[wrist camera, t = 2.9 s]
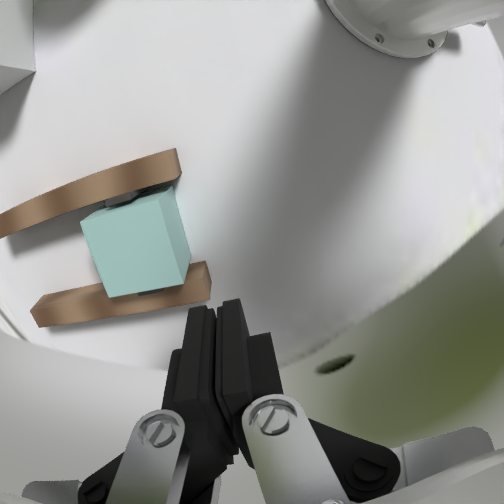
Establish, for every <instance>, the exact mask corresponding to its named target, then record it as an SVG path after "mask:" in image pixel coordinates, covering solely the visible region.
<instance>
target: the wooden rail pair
mask: <svg viewBox="0 0 504 504" xmlns="http://www.w3.org/2000/svg"><path fill="white" fill-rule="evenodd" d="M181 173H182V172H181V168H180V164H179V159H178V155H177V151H176V148H174V149H170V150H167V151H163V152H160V153H156V154H153V155H149V156H146V157H143V158H140V159H136V160H133V161H130V162H127V163H124V164H121V165H118V166H115V167H112V168H109V169H106V170H103V171H100V172H98V173H95V174H92V175H89V176H87V177H84V178H81V179H79V180H76V181H74V182H71V183H69V184H66V185H64V186H61V187H59V188H56V189H54V190H51V191H49V192H47V193H44V194H42V195H40V196H37V197H35V198H33V199H31V200H29V201H26V202H24V203H22V204H20V205H18V206H16V207H14V208H12V209H10V210H8V211H6V212H4V213H2V214H0V239H1V238H3V237H5V236H8V235H10V234H12V233H15V232H17V231H20V230H22V229H25V228H27V227H30V226H32V225H35V224H37V223H40V222H42V221H45V220H48V219H50V218H53V217H56V216H58V215H61V214H64V213H67V212H69V211H72V210H75V209H78V208H81V207H84V206H87V205H90V204H93V203H96V202H99V201H102V200H105V199H107V200H106V201H105V205H106V207H107V206H111V205H114V204H117V203H121V202H124V201H127V200H131V199H133V198H134V197H135V196H137V195H138V194H139V193H140V192H142V191H143V190H144V189H146V188H147V187H148V186H152V185H155V184H159V183H163V182H166V181H170V180H174V179H176V178H177V177H178V176H179V175H180V174H181ZM108 198H109V199H108ZM210 291H211V278H210V275H209V271H208V268H207V264H206V261H202V262H198V263H193V264H189V266H188V269H187V273H186V277H185V280H184V284H180V285H175V286H169V287H164V288H159V289H154V290H148V291H143V292H137V293H132V294H127V295H121V296H116V297H110V298H109V296H108V294H107V292H106V289H105V287H104V285H103V283H99V284H94V285H89V286H85V287H80V288H75V289H71V290H66V291H61V292H57V293H52V294H47V295H43V296H42V297H41V299H40V300H39V301H38V302H37V303H36V304H35V305H34V307H33V308H32V309H31V310H30V312H31V314H32V316H33V318H34V319H35V321H36V323H37V325H38V327H39V328H41V327H48V326H56V325H63V324H70V323H77V322H84V321H91V320H97V319H104V318H110V317H116V316H123V315H129V314H135V313H141V312H147V311H152V310H158V309H164V308H169V307H175V306H180V305H186V304H191V303H196V302H202V301H207V300H210Z"/></svg>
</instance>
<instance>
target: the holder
mask: <svg viewBox="0 0 504 504" xmlns="http://www.w3.org/2000/svg"><path fill="white" fill-rule="evenodd" d="M34 72H36V67H35V56H34V40H33V0H0V95H1V94H2V93H4V92H5V91H7V90H8V89H9V88H11V87H12V86H14V85H15V84H17V83H18V82H20V81H21V80H23V79H24V78H26V77H27V76H29V75H31V74H32V73H34Z"/></svg>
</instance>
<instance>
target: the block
mask: <svg viewBox="0 0 504 504" xmlns="http://www.w3.org/2000/svg"><path fill="white" fill-rule="evenodd" d="M80 224H81V227H82V230H83V233H84V236H85V239H86V241H87V244H88V247H89V250H90V252H91V255H92V258H93V260H94V263H95V265H96V268H97V270H98V273H99V275H100V278H101V280H102V282H103V285H104V287H105V289H106V292H107V294H108V296H109V298H110V297H116V296H121V295H127V294H132V293H137V292H143V291H148V290H154V289H159V288H164V287H169V286H175V285H180V284H184V280H185V277H186V273H187V269H188V266H189V262H190V259H191V252H190V249H189V245H188V242H187V238H186V235H185V231H184V227H183V224H182V220H181V216H180V213H179V209H178V205H177V201H176V198H175V194H174V190H173V186H168V187H164V188H161V189H157V190H153V191H149V192H146V193H142V194H138V195H137V196H135V197H134V198H133V199H131V200H127V201H124V202H121V203H117V204H114V205H111V206H107V207H106V205H103V206H102V207H100V208H99V209H98V210H96V211H95V212H93V213H92V214H90V215H89V216H88V217H86V218H85V219H83V220H82V221H81V222H80Z"/></svg>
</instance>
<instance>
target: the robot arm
mask: <svg viewBox="0 0 504 504" xmlns="http://www.w3.org/2000/svg"><path fill="white" fill-rule="evenodd" d="M325 1H326V3H327V5H328V7H329V8H330V9H331V11H332V12H333V14H334V15H335V17H336V18H337V19H338V20H339V21H340V22H341V23H342V25H343V26H344V27H345V28H346V29H347V30H349V31H350V32H351V33H352V34H353V35H354V36H355V37H357V38H358V39H360V40H361V41H363V42H364V43H365V44H367V45H368V46H370V47H372V48H374V49H376V50H378V51H380V52H382V53H385V54H388V55H391V56H394V57H400V58H418V57H422V56H426V55H428V54H431V53H433V52H435V51H436V50H437V49H438V48H440V47H441V45H442V44H443V42H444V41H445V38H446V35H447V32H448V30H450V29H453V28H457V27H460V26H464V25H467V24H473V25H476V26H479V27H483V26H484V25H485V24H486V20H488V19H492V18H496V17H501V16H504V0H325ZM376 40H377V41H376ZM239 448H240V450H241V452H242V454H243V456H244V458H245V460H246V461H247V463H248V465H249V466H250V467H251V468H253V469H255V471H256V474H257V477H258V480H259V483H260V487H261V490H262V493H263V496H264V499H265V502H266V504H504V448H501V449H498V450H494V447H493V444H492V441H491V438H490V436H489V435H488V433H487V432H486V431H484V430H483V429H481V428H477V427H468V428H464V429H460V430H457V431H454V432H450V433H447V434H443V435H439V436H435V437H431V438H427V439H423V440H418V441H413V442H409V443H404V444H403V445H402V447H397V448H392V449H388V448H386V447H384V446H381V445H378V444H375V443H372V442H369V441H366V440H363V439H361V438H358V437H355V436H352V435H349V434H347V433H344V432H342V431H339V430H336V429H334V428H331V427H328V426H326V425H324V424H321V423H319V422H316V421H314V420H311V419H309V418H307V416H306V414H305V412H304V410H303V408H302V407H301V405H300V404H299V402H297V400H295V399H293V398H292V397H290V396H286V395H284V394H283V389H282V385H281V380H280V376H279V371H278V366H277V361H276V357H275V352H274V348H273V343H272V338H271V334H270V332H269V333H264V334H259V335H254V336H250V335H249V332H248V328H247V324H246V320H245V316H244V313H243V309H242V305H241V301H240V299H239V298H238V299H234V300H229V301H224V302H223V306H221V307H217V318H216V315H215V312H214V309H213V308H211V309H208V308H207V306H206V305H204V306H199V307H193V308H189V311H188V317H187V323H186V328H185V334H184V340H183V346H182V349H176V350H173V352H172V355H171V360H170V365H169V370H168V375H167V381H166V386H165V391H164V397H163V403H162V408H161V410H156V411H153V412H150V413H148V414H146V415H145V416H143V417H142V418H141V419H140V420H139V421H138V422H137V423H136V425H135V427H134V429H133V431H132V434H131V437H130V439H129V442H128V444H127V447H126V449H125V452H123V453H122V454H120V455H119V456H118V457H116V458H115V459H114V460H112V461H111V462H109V463H108V464H106V465H105V466H104V467H102V468H101V469H100V470H98V471H97V472H95V473H94V474H92V475H91V476H89V477H88V478H87V479H85V480H84V481H83V482H80V481H79V480H66V481H33V482H30V483H29V484H27V485H26V486H25V488H24V489H23V492H22V497H20V496H18V495H15V494H11V493H6V492H0V504H218V499H219V492H220V486H221V476H220V475H221V474H222V473H223V472H224V471H225V470H226V469H227V465H228V464H234V462H233V455H238V454H239Z"/></svg>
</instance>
